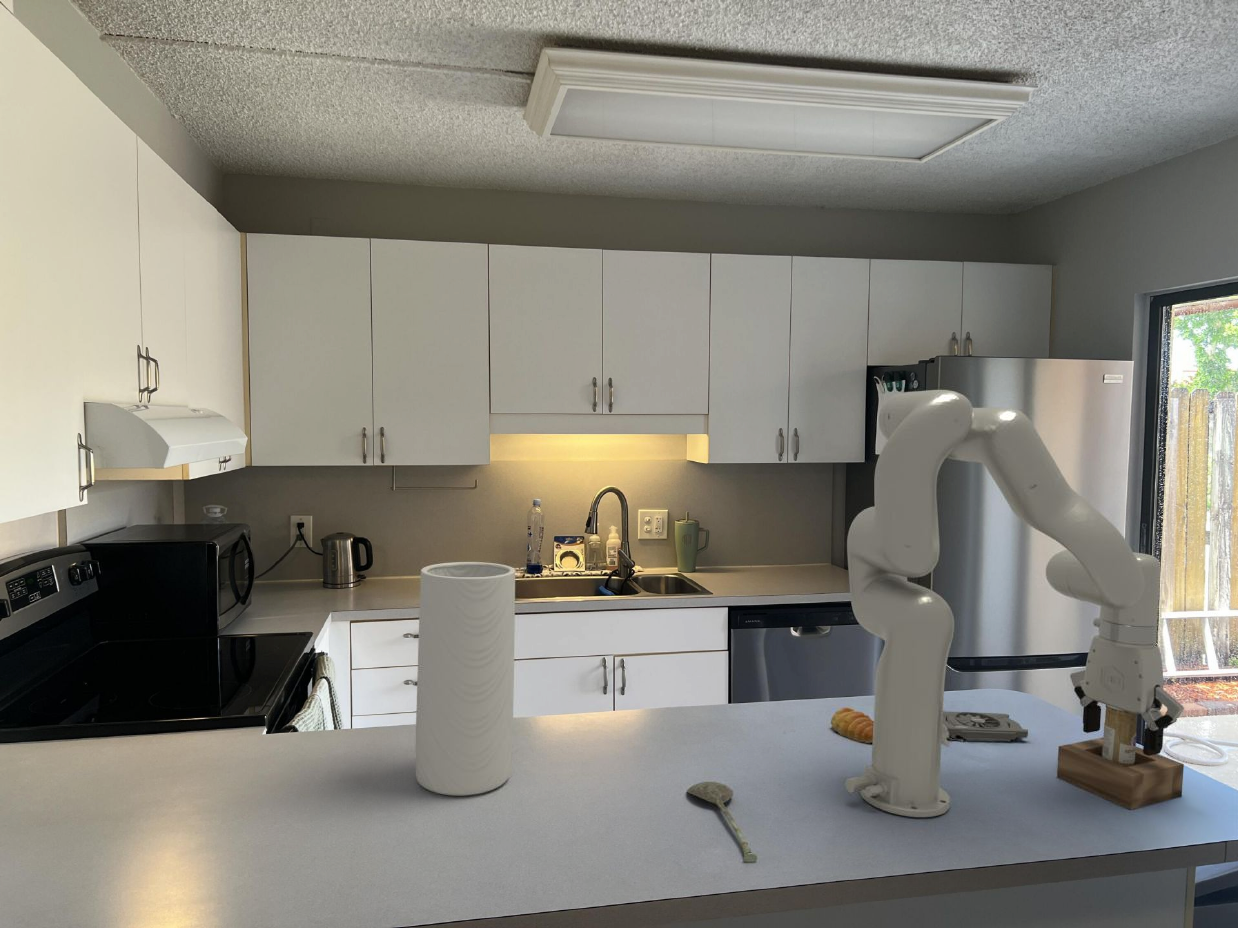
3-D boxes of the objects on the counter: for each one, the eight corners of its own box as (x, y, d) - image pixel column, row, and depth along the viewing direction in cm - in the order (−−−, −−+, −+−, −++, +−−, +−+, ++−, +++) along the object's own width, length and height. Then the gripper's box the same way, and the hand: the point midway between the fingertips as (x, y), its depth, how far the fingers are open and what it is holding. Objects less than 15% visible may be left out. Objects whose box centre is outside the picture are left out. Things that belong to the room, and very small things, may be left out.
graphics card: (942, 730, 144) (917, 704, 156) (941, 751, 144) (915, 724, 156) (1039, 733, 144) (1006, 708, 156) (1037, 754, 145) (1005, 727, 157)
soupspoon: (725, 792, 126) (682, 796, 125) (724, 770, 126) (681, 774, 125) (775, 863, 104) (724, 869, 103) (774, 836, 104) (723, 842, 103)
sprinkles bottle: (1134, 788, 127) (1140, 701, 126) (1099, 781, 129) (1105, 695, 129) (1133, 778, 131) (1139, 693, 130) (1099, 771, 133) (1105, 687, 133)
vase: (505, 800, 119) (511, 579, 117) (404, 797, 119) (408, 576, 117) (517, 759, 133) (522, 562, 132) (426, 757, 133) (430, 560, 131)
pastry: (891, 742, 146) (892, 721, 146) (860, 748, 143) (861, 726, 143) (855, 724, 155) (856, 704, 154) (825, 729, 152) (826, 708, 152)
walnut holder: (1130, 809, 122) (1132, 775, 122) (1056, 777, 133) (1058, 746, 133) (1181, 796, 127) (1183, 763, 127) (1106, 766, 138) (1108, 736, 138)
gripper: (1060, 621, 135) (1054, 726, 136) (1169, 649, 119) (1161, 767, 120) (1091, 618, 138) (1085, 720, 139) (1201, 645, 123) (1193, 759, 124)
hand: (1120, 742), depth 130 cm, fingers open, 9 cm apart
